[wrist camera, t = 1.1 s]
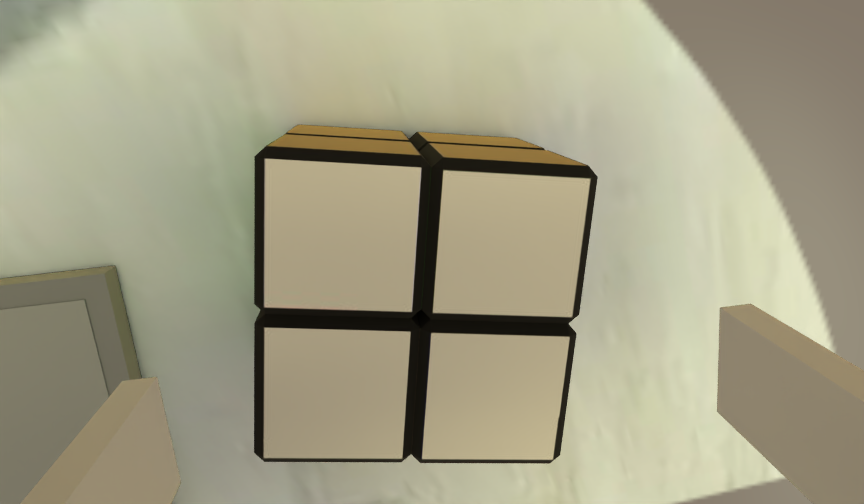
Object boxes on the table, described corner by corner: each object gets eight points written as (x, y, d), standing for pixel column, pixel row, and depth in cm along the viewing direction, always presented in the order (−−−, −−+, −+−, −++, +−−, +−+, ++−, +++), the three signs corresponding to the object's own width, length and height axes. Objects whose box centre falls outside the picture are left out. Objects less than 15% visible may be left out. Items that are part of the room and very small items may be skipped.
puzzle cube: (500, 348, 31) (562, 468, 21) (288, 343, 30) (252, 468, 20) (522, 137, 28) (602, 166, 19) (291, 123, 27) (251, 146, 18)
